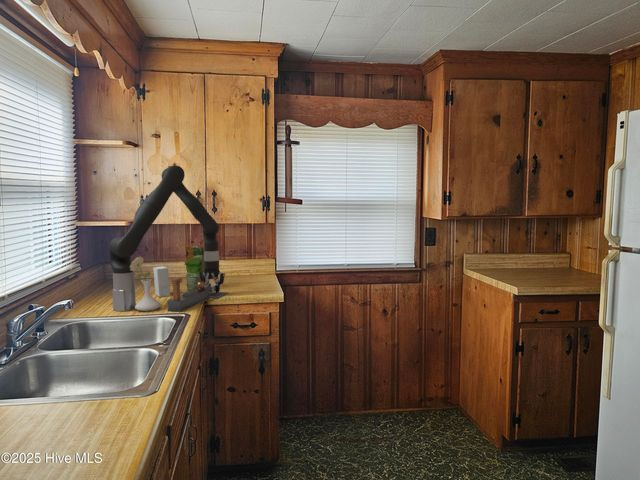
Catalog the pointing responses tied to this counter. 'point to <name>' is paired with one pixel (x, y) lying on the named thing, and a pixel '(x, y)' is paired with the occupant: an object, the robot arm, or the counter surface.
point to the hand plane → (186, 296)
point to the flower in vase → (147, 300)
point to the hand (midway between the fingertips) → (212, 291)
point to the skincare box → (161, 281)
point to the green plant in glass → (194, 265)
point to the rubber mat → (217, 294)
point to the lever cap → (211, 287)
